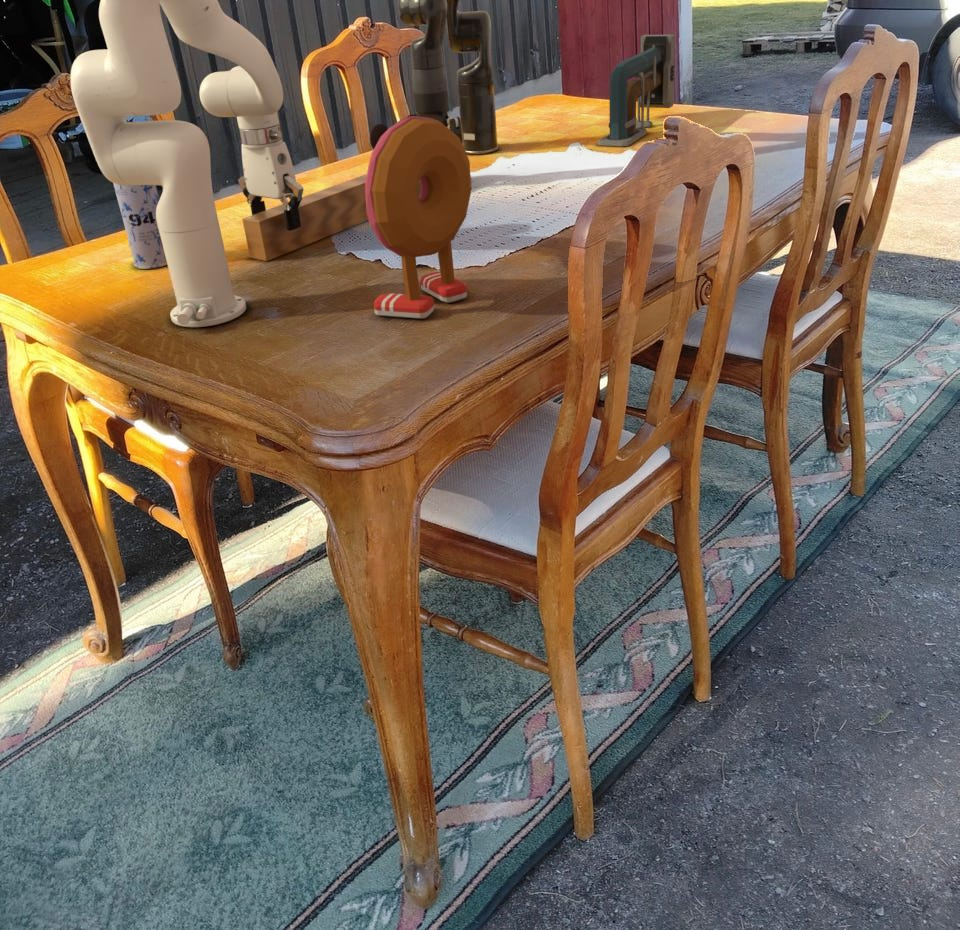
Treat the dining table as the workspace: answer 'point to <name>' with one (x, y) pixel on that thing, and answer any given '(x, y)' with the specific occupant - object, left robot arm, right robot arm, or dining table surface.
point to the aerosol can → (141, 224)
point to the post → (308, 219)
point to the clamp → (640, 89)
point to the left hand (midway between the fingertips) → (277, 225)
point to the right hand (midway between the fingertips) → (437, 163)
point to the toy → (418, 207)
